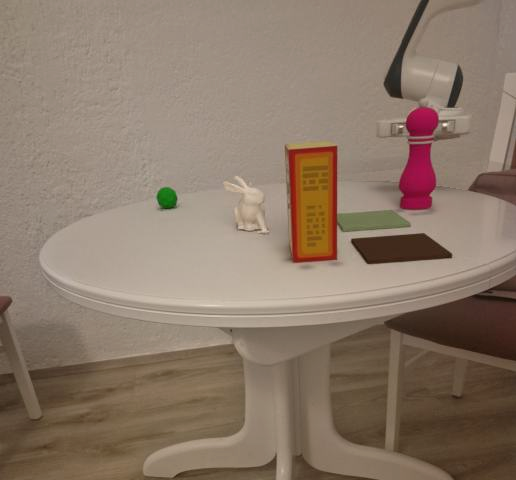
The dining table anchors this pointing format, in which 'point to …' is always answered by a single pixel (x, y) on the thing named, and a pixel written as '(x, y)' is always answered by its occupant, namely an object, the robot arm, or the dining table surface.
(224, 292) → the dining table surface
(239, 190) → the rabbit figurine
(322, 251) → the baking soda box
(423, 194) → the pepper mill
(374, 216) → the sage mat
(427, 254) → the dark mat
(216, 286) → the dining table surface
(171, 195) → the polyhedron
